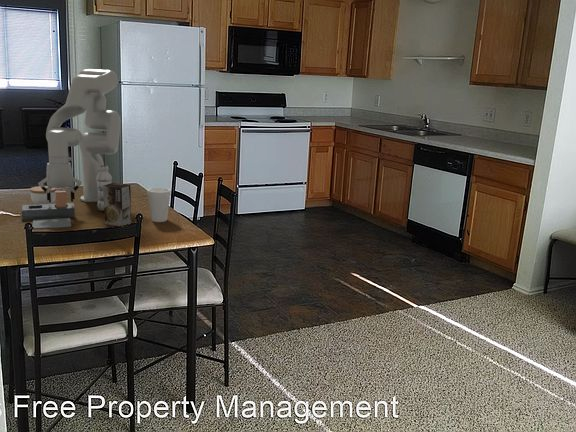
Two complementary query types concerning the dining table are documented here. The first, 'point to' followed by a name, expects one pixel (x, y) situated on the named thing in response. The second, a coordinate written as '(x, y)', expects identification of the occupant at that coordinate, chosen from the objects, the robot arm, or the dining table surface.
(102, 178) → the plastic bottle
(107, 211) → the coffee box
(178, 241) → the dining table surface
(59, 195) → the plug
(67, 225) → the mat
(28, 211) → the socket plate
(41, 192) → the lidded jar
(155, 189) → the foam cup
